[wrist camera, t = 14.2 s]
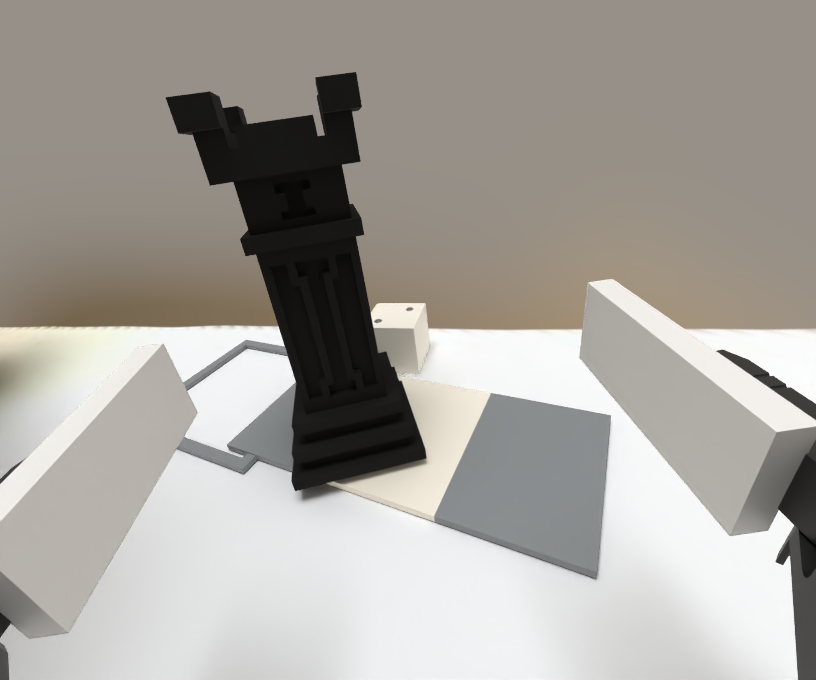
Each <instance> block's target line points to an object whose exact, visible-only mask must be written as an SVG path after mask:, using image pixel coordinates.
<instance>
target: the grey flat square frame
mask: <svg viewBox="0 0 816 680" xmlns="http://www.w3.org/2000/svg"><path fill="white" fill-rule="evenodd" d="M247 348H249V349H255V350H260V351H265V352H271V353H276V354H281V355H287V351H286V348H285V347H283V346H278V345H272V344H266V343H261V342H255V341H249V340H245V341H244V342H242V343H241V344H239V345H238V346H236V347H235V348H234V349H232V350H231V351H229V352H228V353H226V354H225V355H223V356H222V357H220V358H219V359H217V360H216V361H214V362H213V363H212V364H210V365H209V366H207V367H206V368H204V369H203V370H201V371H200V372H198V373H197V374H195V375H194V376H192V377H191V378H190V379H188V380H187V381H185V382H184V383H183V384H184V386H185V388H186V390H188V389H190V388H191V387H193V386H194V385H195V384H197V383H198V382H200V381H201V380H203V379H204V378H205V377H207V376H208V375H210V374H211V373H212V372H214V371H215V370H217V369H218V368H220V367H221V366H222V365H224V364H225V363H227V362H228V361H230V360H231V359H232V358H234V357H235V356H237V355H238V354H239V353H241V352H242V351H244V350H245V349H247ZM287 356H288V355H287ZM177 449H179V450H182V451H184V452H187V453H190V454H192V455H195V456H198V457H200V458H203V459H205V460H208V461H211V462H213V463H216V464H219V465H221V466H224V467H226V468H229V469H232V470H234V471H237V472H240V473H242V474H244V473H245V472H246V471H247V470H248V469H249V468H250V467H251V466H252V465H253V464H254V463H255V462H256V461H257V460H258V459H257V457H256V456H255V455H252V454H250V453H247V454H246V455H245V456H244V457H243V458H241V457H238V456H235V455H232V454H229V453H227V452H224V451H221V450H218V449H215V448H213V447H210V446H207V445H204V444H201V443H199V442H196V441H193V440H190V439H187V438H185V437H183V439H182V440H181V442H180V444H179V446H178V447H177Z"/></svg>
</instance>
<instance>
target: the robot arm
mask: <svg viewBox="0 0 816 680" xmlns="http://www.w3.org/2000/svg"><path fill="white" fill-rule="evenodd" d="M579 358H580V359H581V360H582V361H583V363H584V364H585V365H586V366H587V367H588V369H589V370H590V371H591V372H592V373H593V374H594V376H595V377H596V378H597V379H598V380H599V382H600V383H601V384H602V385H603V386H604V388H605V389H606V390H607V391H608V392H609V393H610V395H611V396H612V397H613V398H614V399H615V401H616V402H617V403H618V404H619V405H620V407H621V408H622V409H623V410H624V411H625V412H626V414H627V415H628V416H629V417H630V418H631V420H632V421H633V422H634V423H635V424H636V426H637V427H638V428H639V429H640V430H641V431H642V433H643V434H644V435H645V436H646V437H647V439H648V440H649V441H650V442H651V443H652V445H653V446H654V447H655V448H656V449H657V450H658V452H659V453H660V454H661V455H662V456H663V458H664V459H665V460H666V461H667V462H668V464H669V465H670V466H671V467H672V468H673V469H674V471H675V472H676V473H677V474H678V475H679V477H680V478H681V479H682V480H683V481H684V483H685V484H686V485H687V486H688V487H689V488H690V490H691V491H692V492H693V493H694V494H695V496H696V497H697V498H698V499H699V500H700V502H701V503H702V504H703V505H704V506H705V507H706V509H707V510H708V511H709V512H710V513H711V515H712V516H713V517H714V518H715V519H716V520H717V522H718V523H719V524H720V525H721V526H722V528H723V529H724V530H725V531H726V532H727V534H728V535H729V536H734V535H741V534H748V533H754V532H761V531H768V529H769V528H770V526H771V524H772V522H773V520H774V518H775V516H776V514H777V512H778V510H780V511H781V512H782V513H783V514H784V515H785V516H786V517H787V518H788V519H789V520H790V521H791V522H792V523H793V524H794V527H793V529H792V530H791V532H790V534H789V536H788V537H787V539H786V541H785V543H784V544H783V546H782V548H781V550H780V551H779V553H778V556H777V559H776V563H779V564H782V565H783V564H784V563H785V561H786V559H787V558H788V556H790V559H791V575H792V591H793V606H794V622H795V638H796V653H797V669H798V680H816V404H815V403H814V402H812V401H810V400H809V399H807V398H806V397H804V396H803V395H801V394H800V393H798V392H797V391H795V390H794V389H792V388H791V387H790V388H787V387H786V384H785V383H783V382H782V381H780V380H779V379H777V378H775V377H774V376H769V373H768V372H766V371H765V370H763V369H762V368H760V367H759V366H757V365H756V364H754V363H753V362H751V361H750V360H748V359H745V358H743V357H740V356H738V355H735V354H732V353H730V352H727V351H725V350H718V351H715V350H714V349H712V348H711V347H710V346H708V345H707V344H705V343H704V342H702V341H701V340H699V339H698V338H697V337H695V336H694V335H692V334H691V333H689V332H688V331H686V330H685V329H684V328H682V327H681V326H679V325H678V324H676V323H675V322H674V321H672V320H671V319H669V318H668V317H666V316H665V315H663V314H662V313H661V312H659V311H657V310H656V309H655V308H653V307H652V306H650V305H649V304H648V303H646V302H645V301H643V300H642V299H640V298H639V297H637V296H636V295H635V294H633V293H632V292H630V291H629V290H627V289H626V288H624V287H623V286H622V285H620V284H619V283H617V282H616V281H614V280H613V279H609V280H602V281H595V282H589V283H588V284H587V294H586V302H585V311H584V322H583V330H582V339H581V348H580V357H579ZM197 413H198V412H197V410H196V408H195V406H194V404H193V402H192V400H191V398H190V396H189V394H188V392H187V390H186V388H185V386H184V384H183V382H182V380H181V378H180V376H179V374H178V372H177V370H176V368H175V366H174V364H173V362H172V360H171V358H170V356H169V354H168V352H167V350H166V348H165V346H164V344H156V345H149V346H142V347H138V348H137V349H136V350H135V351H134V352H133V353H132V354H131V355H130V356H129V357H128V358H127V359H126V360H125V361H124V362H123V363H122V364H121V365H120V366H119V367H118V368H117V369H116V370H115V371H114V372H113V373H112V374H111V375H110V376H109V377H108V378H107V379H106V380H105V381H104V382H103V383H102V384H101V385H100V386H99V387H98V388H97V389H96V390H95V391H94V392H93V393H92V394H91V395H89V396H88V397H87V398H86V399H85V400H84V401H83V402H82V403H81V404H80V405H79V406H78V407H77V408H76V409H75V410H74V411H73V412H72V413H71V414H70V415H69V416H68V417H67V418H66V419H65V420H64V421H63V422H62V423H61V424H60V425H59V426H58V427H57V428H56V429H55V430H54V431H53V432H52V433H51V434H50V435H49V436H48V437H47V438H46V439H45V440H44V441H43V442H42V443H41V444H40V445H39V446H38V447H37V448H36V449H35V450H34V451H33V452H32V453H31V454H30V455H29V456H28V457H27V458H25V459H24V460H23V461H21V462H20V463H18V464H17V465H15V466H14V467H13V468H11V469H10V470H9V471H8V472H7V473H6V474H5V475H4V476H3V477H2V478H1V479H0V637H1V636H2V634H3V633H4V632H5V630H6V629H7V627H8V626H9V625H10V623H11V624H12V625H14V626H15V627H16V628H17V629H18V630H20V631H21V632H22V633H23V634H24V635H26V636H27V637H28V638H29V639H31V638H38V637H45V636H52V635H59V634H65V633H69V631H70V630H71V628H72V626H73V624H74V623H75V621H76V619H77V618H78V616H79V614H80V613H81V611H82V609H83V607H84V606H85V604H86V602H87V601H88V599H89V597H90V596H91V594H92V592H93V590H94V589H95V587H96V585H97V584H98V582H99V580H100V578H101V577H102V575H103V573H104V572H105V570H106V568H107V567H108V565H109V563H110V561H111V560H112V558H113V556H114V555H115V553H116V551H117V550H118V548H119V546H120V544H121V543H122V541H123V539H124V538H125V536H126V534H127V532H128V531H129V529H130V527H131V526H132V524H133V522H134V521H135V519H136V517H137V515H138V514H139V512H140V510H141V509H142V507H143V505H144V504H145V502H146V500H147V498H148V497H149V495H150V493H151V492H152V490H153V488H154V486H155V485H156V483H157V481H158V480H159V478H160V476H161V475H162V473H163V471H164V469H165V468H166V466H167V464H168V463H169V461H170V459H171V458H172V456H173V454H174V452H175V451H176V449H177V447H178V446H179V444H180V442H181V440H182V439H183V437H184V435H185V434H186V432H187V430H188V429H189V427H190V425H191V423H192V422H193V420H194V418H195V417H196V415H197ZM0 680H9V666H8V653H7V650H6V648H5V646H4V645H3V644H1V643H0Z"/></svg>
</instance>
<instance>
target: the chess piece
mask: <svg viewBox="0 0 816 680" xmlns="http://www.w3.org/2000/svg"><path fill="white" fill-rule="evenodd" d="M316 86H317V91H318V95H317V100H318V105H319V110H320V115H321V120H322V124H323V129H324V133H325V135H324V136H317V131H316V126H315V122H314V118H313V115H308V116H302V117H295V118H287V119H281V120H274V121H267V122H260V123H253V124H247V122H246V118H245V115H244V111H243V109H242V108H240V107H238V106H235V107H228V108H223V107H222V104H221V101H220V97H219V96H217V95H215V94H213V93H211V92H204V93H195V94H189V95H180V96H173V97H166V100H167V103H168V105H169V108H170V111H171V114H172V117H173V120H174V123H175V125H176V128H177V131H178V133H180V134H188V135H192V134H193V137H194V140H195V142H196V146H197V148H198V151H199V154H200V157H201V160H202V163H203V166H204V169H205V172H206V175H207V178H208V181H209V184H210V185H216V184H223V183H229V182H234V185H235V188H236V191H237V195H238V198H239V201H240V204H241V207H242V211H243V214H244V217H245V220H246V223H247V226H248V231H247V232H246V233H245V234H244V235H243V236H242V238H241V239H240V240H241V243H242V247H243V250H244V253H245V256H249V255H255V254H256V255H257V259H258V262H259V265H260V268H261V271H262V275H263V278H264V281H265V284H266V287H267V291H268V294H269V297H270V300H271V303H272V307H273V310H274V313H275V316H276V319H277V323H278V326H279V329H280V332H281V335H282V339H283V342H284V345H285V348H286V351H287V355H288V358H289V361H290V364H291V367H292V371H293V374H294V377H295V380H296V389H295V398H294V408H293V417H292V429H293V432H294V433H293V444H292V457H293V470H292V484H293V487H294V489H295V491H297V490H301V489H305V488H309V487H313V486H317V485H321V484H326V483H330V482H334V481H338V480H342V479H346V478H350V477H354V476H358V475H362V474H366V473H370V472H374V471H378V470H382V469H386V468H390V467H394V466H398V465H402V464H406V463H410V462H414V461H418V460H422V459H426V458H427V457H426V450H425V446H424V443H423V441H422V438H421V435H420V432H419V429H418V426H417V423H416V420H415V418H414V415H413V412H412V409H411V406H410V403H409V400H408V398H407V395H406V392H405V389H404V386H403V383H402V380H401V381H399V379H398V376H397V373H396V370H395V367H391V364H390V361H389V358H388V355H387V352H381V353H378V348H377V343H376V338H375V333H374V328H373V323H372V318H371V312H370V307H369V302H368V298H367V292H366V287H365V282H364V276H363V272H362V266H361V262H360V256H359V251H358V246H357V241H356V236H360V235H364V231H363V226H362V220H361V217H360V215H359V213H358V212H357V210H356V208H355V207H354V205H353V204H349V199H348V195H347V190H346V184H345V179H344V174H343V169H342V164H348V163H355V162H360V156H359V150H358V144H357V139H356V133H355V128H354V121H353V116H352V111H358V110H359V109H360V108H361V107H362V106H361V100H360V93H359V87H358V82H357V75H356V72H353V73H345V74H338V75H331V76H323V77H316Z"/></svg>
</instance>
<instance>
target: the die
mask: <svg viewBox="0 0 816 680" xmlns="http://www.w3.org/2000/svg"><path fill="white" fill-rule="evenodd" d="M371 318H372V323H373V328H374V333H375V338H376V343H377V348H378V353H381V352H387V355H388V358H389V361H390V364H391V367H395V370H396V373H412V374H420V371H421V368H422V366H423V363H424V360H425V358H426V355H427V353H428V350H429V347H430V341H429V332H428V323H427V313H426V304H425V303H412V304H411V303H408V304H407V303H404V304H403V303H397V304H396V303H392V304H391V303H388V304H387V303H386V304H385V303H378V304H377V305H376V306H375V308H374V309H373V311H372V312H371Z"/></svg>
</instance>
